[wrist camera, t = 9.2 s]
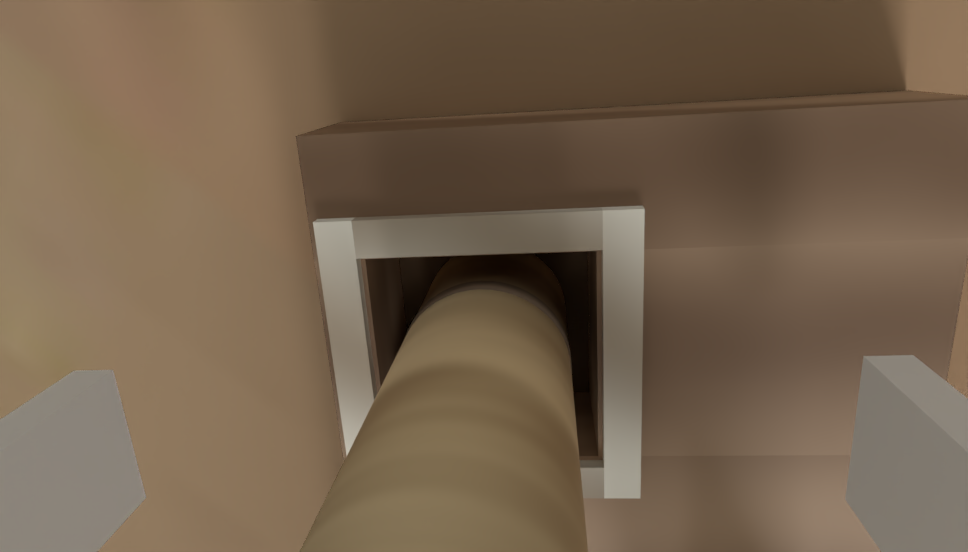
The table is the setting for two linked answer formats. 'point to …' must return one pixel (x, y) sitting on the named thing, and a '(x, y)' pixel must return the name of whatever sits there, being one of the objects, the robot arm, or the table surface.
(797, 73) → the table surface
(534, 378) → the leg peg
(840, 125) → the wooden base block
